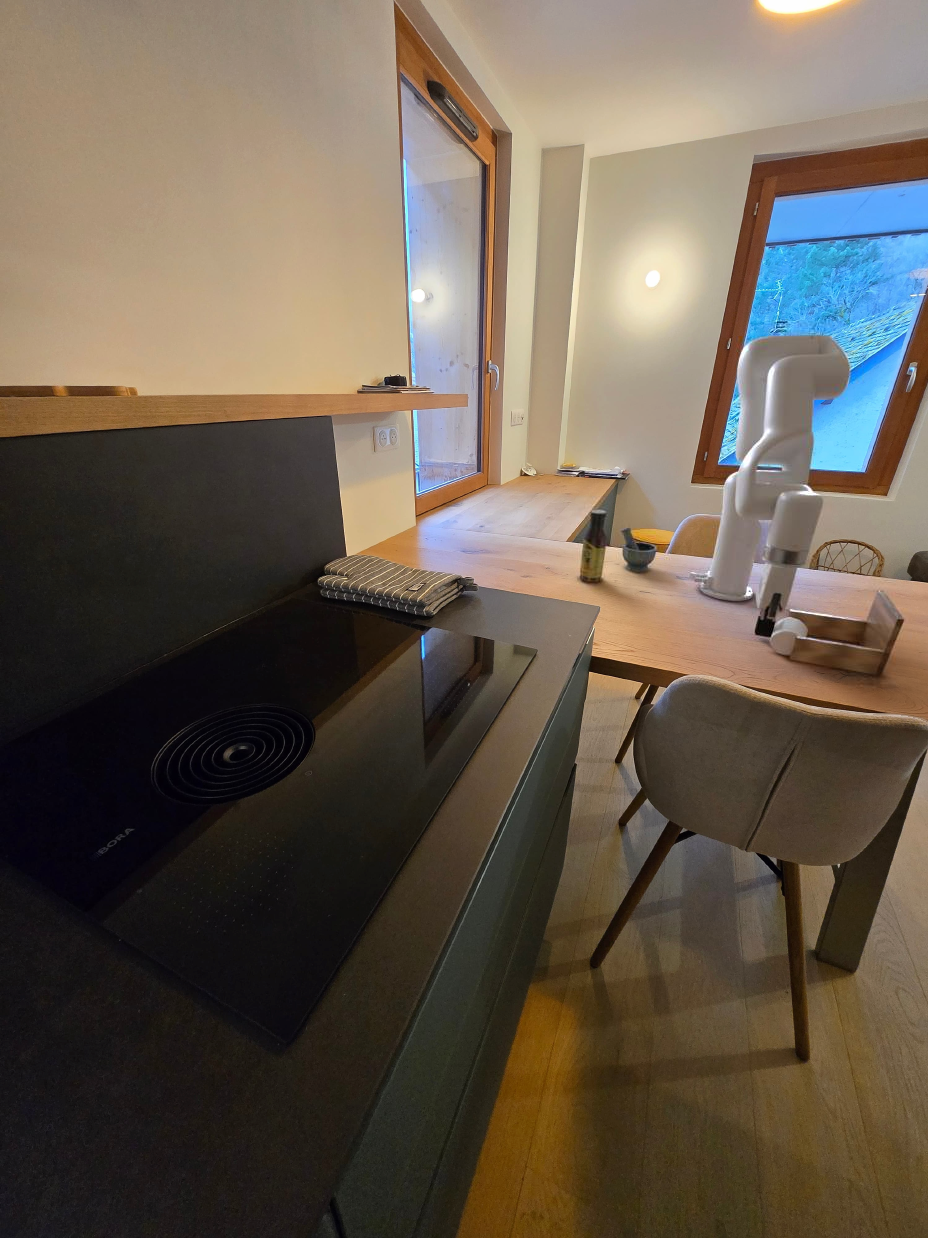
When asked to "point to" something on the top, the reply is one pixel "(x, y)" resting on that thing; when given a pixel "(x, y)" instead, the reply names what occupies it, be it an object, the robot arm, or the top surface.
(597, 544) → the sauce bottle
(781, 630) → the roll
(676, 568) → the top surface
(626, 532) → the mortar and pestle
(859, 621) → the u-shaped wooden enclosure
